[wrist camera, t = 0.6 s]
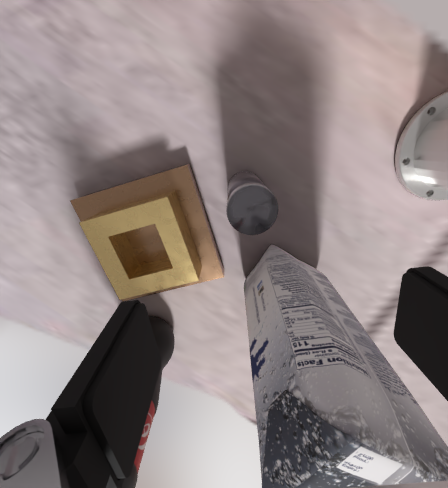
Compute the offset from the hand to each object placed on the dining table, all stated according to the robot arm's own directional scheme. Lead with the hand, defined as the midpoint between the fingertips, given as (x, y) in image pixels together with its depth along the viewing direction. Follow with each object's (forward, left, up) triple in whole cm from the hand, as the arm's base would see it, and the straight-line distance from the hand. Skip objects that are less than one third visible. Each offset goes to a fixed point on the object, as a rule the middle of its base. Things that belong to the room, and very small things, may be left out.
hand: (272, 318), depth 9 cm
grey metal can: (-1, 0, -26) cm, 26 cm away
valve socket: (+13, +3, -26) cm, 29 cm away
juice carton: (-3, +14, -26) cm, 29 cm away
